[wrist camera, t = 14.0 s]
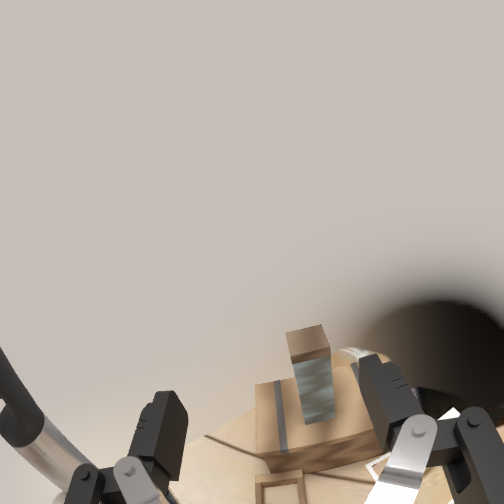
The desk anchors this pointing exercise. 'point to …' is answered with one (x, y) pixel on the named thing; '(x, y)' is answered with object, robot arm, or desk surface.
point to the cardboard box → (310, 432)
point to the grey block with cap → (312, 373)
